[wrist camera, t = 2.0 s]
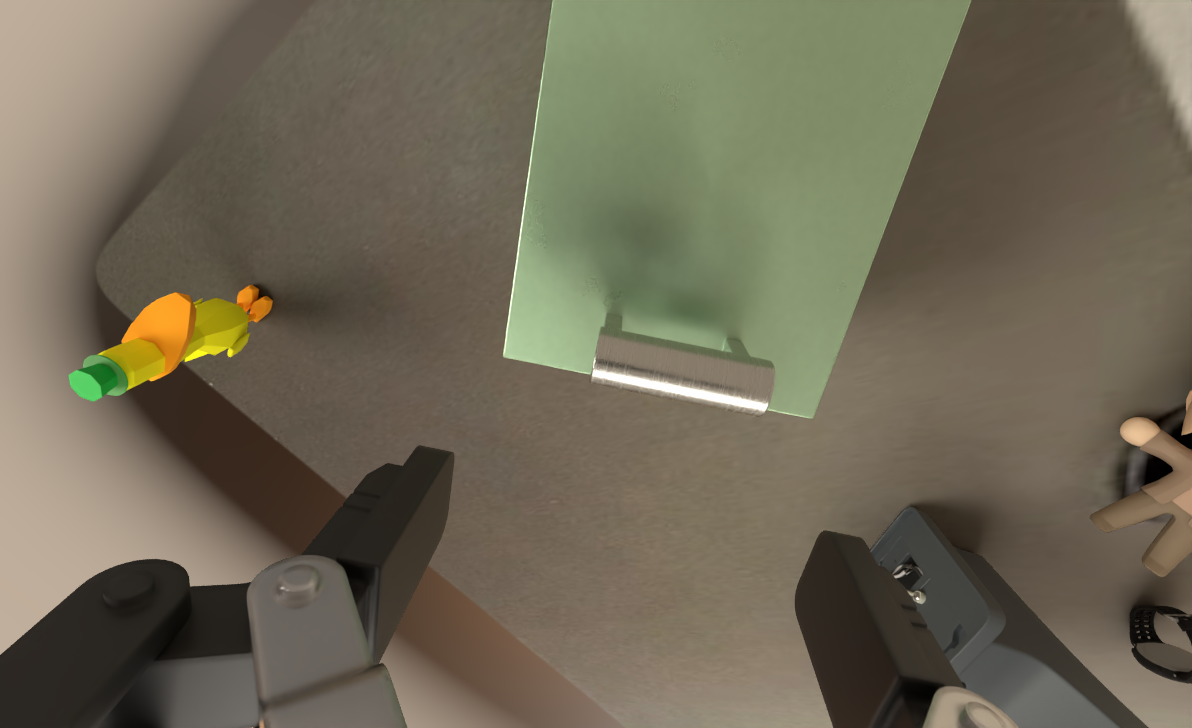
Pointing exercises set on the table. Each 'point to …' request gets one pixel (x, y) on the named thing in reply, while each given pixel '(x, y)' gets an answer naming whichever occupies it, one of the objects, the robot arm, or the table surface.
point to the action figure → (1158, 495)
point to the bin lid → (716, 188)
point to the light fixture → (994, 633)
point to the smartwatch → (1161, 643)
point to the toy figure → (169, 341)
